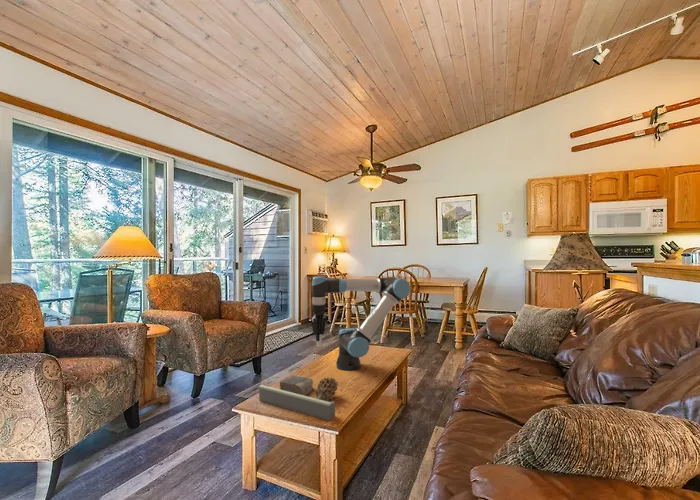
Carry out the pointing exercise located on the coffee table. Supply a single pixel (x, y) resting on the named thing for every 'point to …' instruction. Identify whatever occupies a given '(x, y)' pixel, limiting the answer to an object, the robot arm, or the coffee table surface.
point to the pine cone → (326, 389)
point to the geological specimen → (297, 385)
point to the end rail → (297, 402)
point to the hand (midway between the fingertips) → (319, 346)
